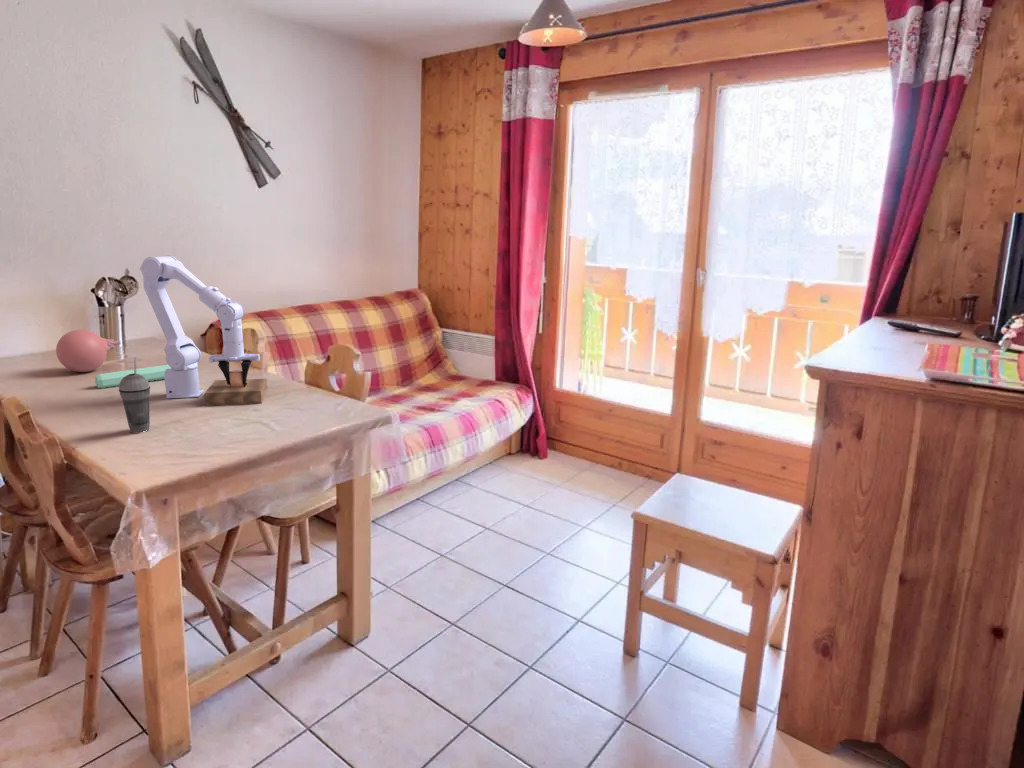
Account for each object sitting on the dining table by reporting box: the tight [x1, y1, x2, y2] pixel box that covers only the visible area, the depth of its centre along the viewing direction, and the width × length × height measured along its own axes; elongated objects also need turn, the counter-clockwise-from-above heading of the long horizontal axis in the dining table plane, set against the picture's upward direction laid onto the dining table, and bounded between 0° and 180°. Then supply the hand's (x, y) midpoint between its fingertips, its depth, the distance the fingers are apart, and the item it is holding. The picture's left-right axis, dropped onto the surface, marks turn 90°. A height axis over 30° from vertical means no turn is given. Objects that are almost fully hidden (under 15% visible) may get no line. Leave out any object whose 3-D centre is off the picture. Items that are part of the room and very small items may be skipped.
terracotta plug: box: [229, 369, 244, 388], centre depth 203 cm, size 4×4×6 cm
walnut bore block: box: [204, 378, 269, 407], centre depth 204 cm, size 16×16×4 cm
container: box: [94, 364, 171, 389], centre depth 220 cm, size 6×6×25 cm
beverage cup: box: [118, 357, 151, 433], centre depth 169 cm, size 7×7×20 cm
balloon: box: [55, 329, 121, 373], centre depth 233 cm, size 15×20×15 cm
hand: (236, 383), depth 203 cm, fingers closed on terracotta plug, 4 cm apart
